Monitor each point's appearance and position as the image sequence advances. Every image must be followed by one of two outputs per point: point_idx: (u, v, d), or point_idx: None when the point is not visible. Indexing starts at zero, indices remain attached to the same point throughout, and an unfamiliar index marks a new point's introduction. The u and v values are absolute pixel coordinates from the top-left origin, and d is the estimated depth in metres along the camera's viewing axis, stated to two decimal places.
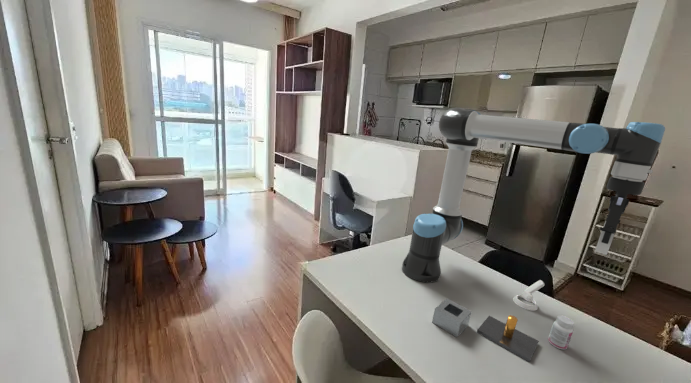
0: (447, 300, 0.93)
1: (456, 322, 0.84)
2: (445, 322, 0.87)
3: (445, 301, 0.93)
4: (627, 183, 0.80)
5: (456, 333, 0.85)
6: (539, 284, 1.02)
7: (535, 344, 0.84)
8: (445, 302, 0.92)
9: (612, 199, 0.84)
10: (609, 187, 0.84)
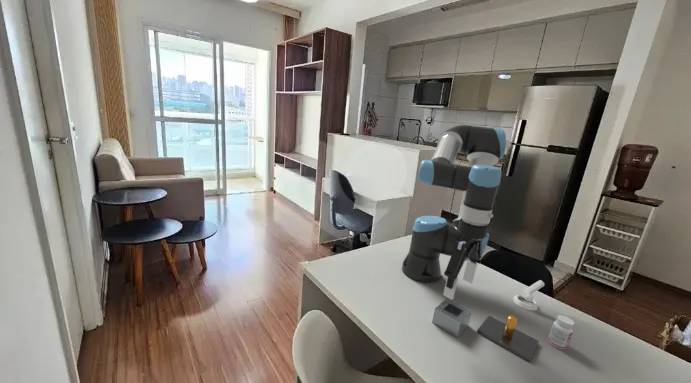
0: (447, 300, 0.93)
1: (456, 322, 0.84)
2: (445, 322, 0.87)
3: (445, 301, 0.93)
4: (468, 227, 0.79)
5: (456, 333, 0.85)
6: (539, 284, 1.02)
7: (535, 344, 0.84)
8: (445, 302, 0.92)
9: (461, 241, 0.82)
10: (458, 229, 0.82)
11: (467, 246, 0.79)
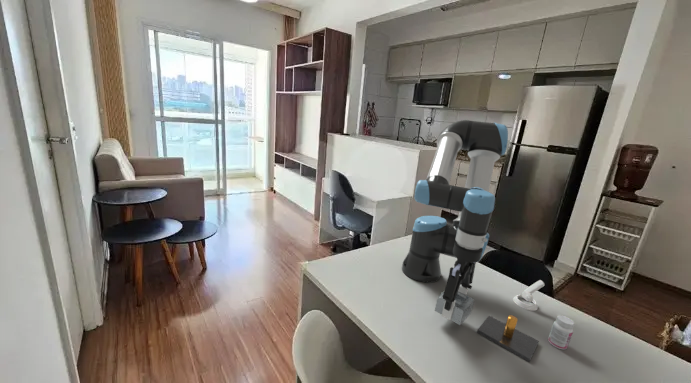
0: None
1: (459, 310, 0.84)
2: None
3: None
4: (463, 251, 0.81)
5: (459, 321, 0.84)
6: (539, 284, 1.02)
7: (535, 344, 0.84)
8: None
9: None
10: (453, 252, 0.84)
11: (462, 269, 0.82)
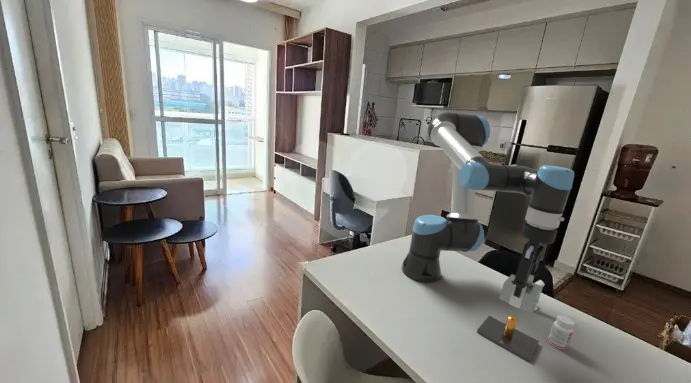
0: (513, 276, 0.86)
1: (530, 297, 0.77)
2: None
3: (511, 276, 0.86)
4: (537, 231, 0.75)
5: (530, 309, 0.78)
6: (539, 284, 1.02)
7: (535, 344, 0.84)
8: (512, 278, 0.85)
9: (526, 247, 0.78)
10: (522, 233, 0.78)
11: (535, 251, 0.76)
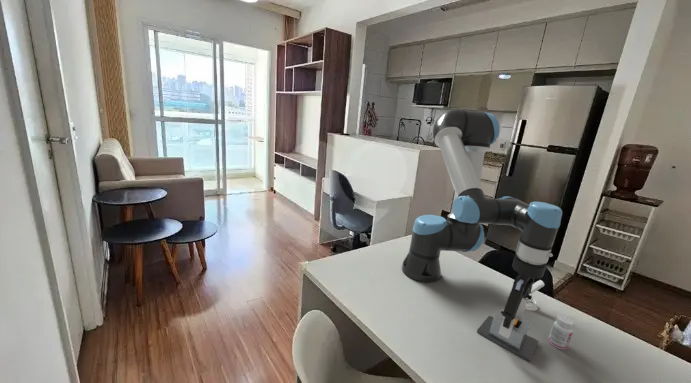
0: (503, 310, 0.89)
1: (518, 335, 0.80)
2: None
3: None
4: (527, 266, 0.77)
5: (518, 346, 0.81)
6: (539, 284, 1.02)
7: (535, 344, 0.84)
8: None
9: (516, 279, 0.81)
10: (513, 266, 0.81)
11: (524, 285, 0.78)
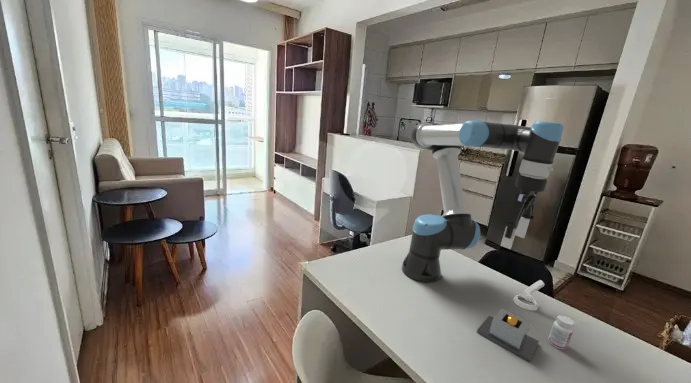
0: (503, 310, 0.89)
1: (518, 335, 0.80)
2: (505, 334, 0.83)
3: (501, 311, 0.89)
4: (529, 180, 0.83)
5: (518, 346, 0.81)
6: (539, 284, 1.02)
7: (535, 344, 0.84)
8: (501, 313, 0.88)
9: None
10: (516, 184, 0.87)
11: (526, 198, 0.84)
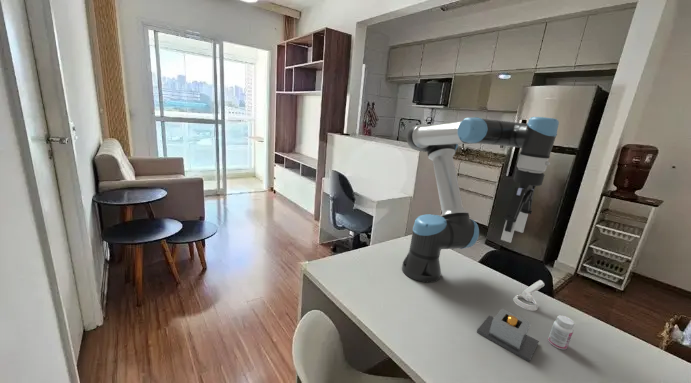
0: (503, 310, 0.89)
1: (518, 335, 0.80)
2: (505, 334, 0.83)
3: (501, 311, 0.89)
4: (527, 174, 0.85)
5: (518, 346, 0.81)
6: (539, 284, 1.02)
7: (535, 344, 0.84)
8: (501, 313, 0.88)
9: None
10: (514, 179, 0.89)
11: (525, 192, 0.86)
